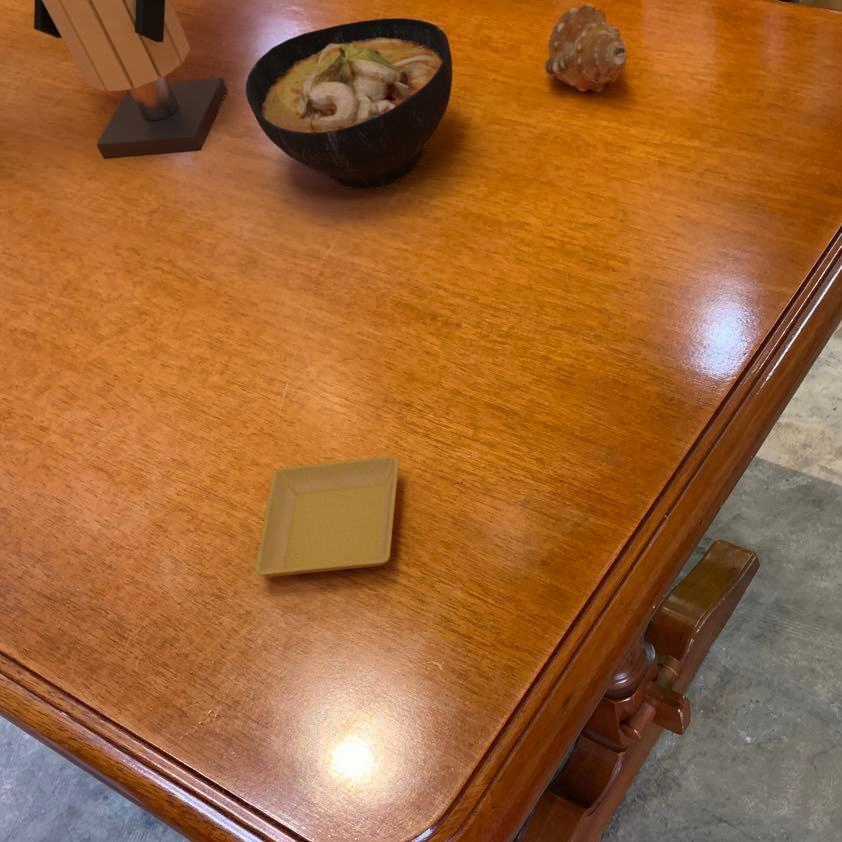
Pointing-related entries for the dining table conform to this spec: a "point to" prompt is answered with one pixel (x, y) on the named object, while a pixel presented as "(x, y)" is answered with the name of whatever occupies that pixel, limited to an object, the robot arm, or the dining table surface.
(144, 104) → the metal peg stand
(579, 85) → the seashell
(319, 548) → the saucer
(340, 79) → the bowl
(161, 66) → the slatted pencil cup
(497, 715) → the dining table surface
